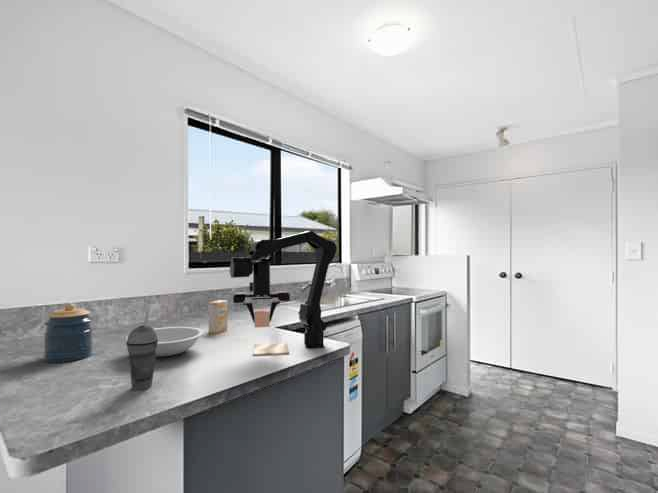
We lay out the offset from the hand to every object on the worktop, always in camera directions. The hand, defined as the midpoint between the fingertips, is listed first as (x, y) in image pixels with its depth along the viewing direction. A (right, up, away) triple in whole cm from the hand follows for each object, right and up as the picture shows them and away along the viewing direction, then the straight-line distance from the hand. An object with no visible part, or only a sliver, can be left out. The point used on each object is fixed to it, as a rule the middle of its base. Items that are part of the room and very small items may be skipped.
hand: (262, 321), depth 121 cm
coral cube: (0, -1, 0) cm, 1 cm away
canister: (-62, -10, -6) cm, 63 cm away
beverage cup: (-25, -10, -31) cm, 41 cm away
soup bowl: (-32, -11, -2) cm, 34 cm away
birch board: (+2, -11, +4) cm, 12 cm away
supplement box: (-25, -11, +32) cm, 42 cm away
